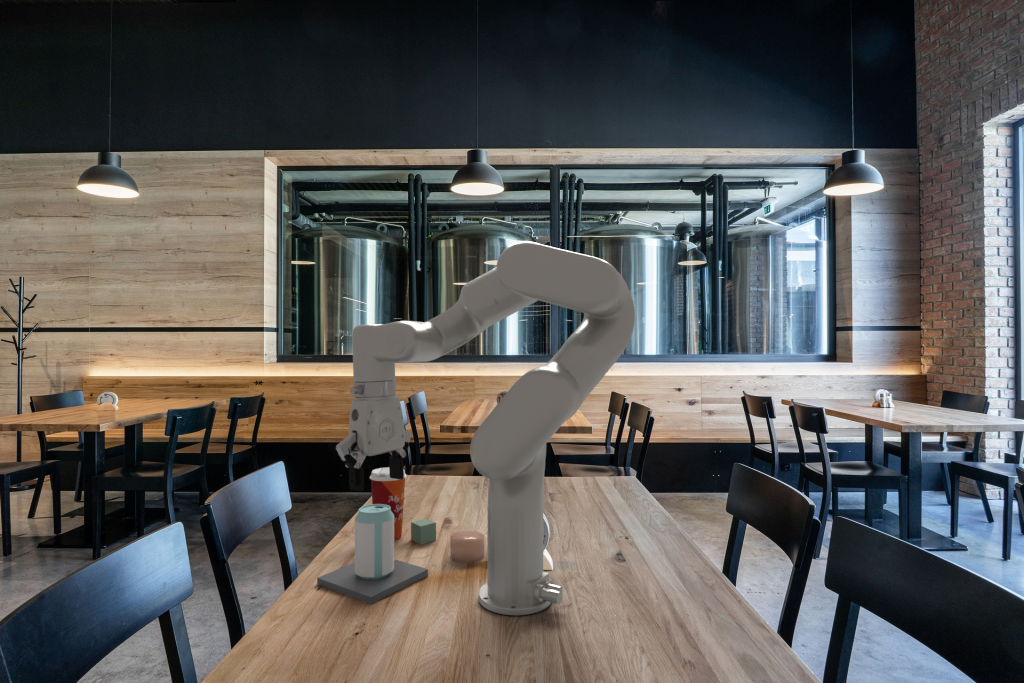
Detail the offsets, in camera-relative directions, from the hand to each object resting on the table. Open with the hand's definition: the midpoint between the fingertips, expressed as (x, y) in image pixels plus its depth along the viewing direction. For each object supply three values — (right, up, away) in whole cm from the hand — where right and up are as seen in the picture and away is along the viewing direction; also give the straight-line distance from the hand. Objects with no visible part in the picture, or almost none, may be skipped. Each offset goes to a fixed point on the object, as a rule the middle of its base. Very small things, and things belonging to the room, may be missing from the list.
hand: (377, 483), depth 102 cm
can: (-1, -17, 0) cm, 17 cm away
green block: (+5, -18, +21) cm, 28 cm away
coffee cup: (-3, -18, +23) cm, 30 cm away
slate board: (-1, -18, 0) cm, 18 cm away
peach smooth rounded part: (+16, -18, +12) cm, 27 cm away
